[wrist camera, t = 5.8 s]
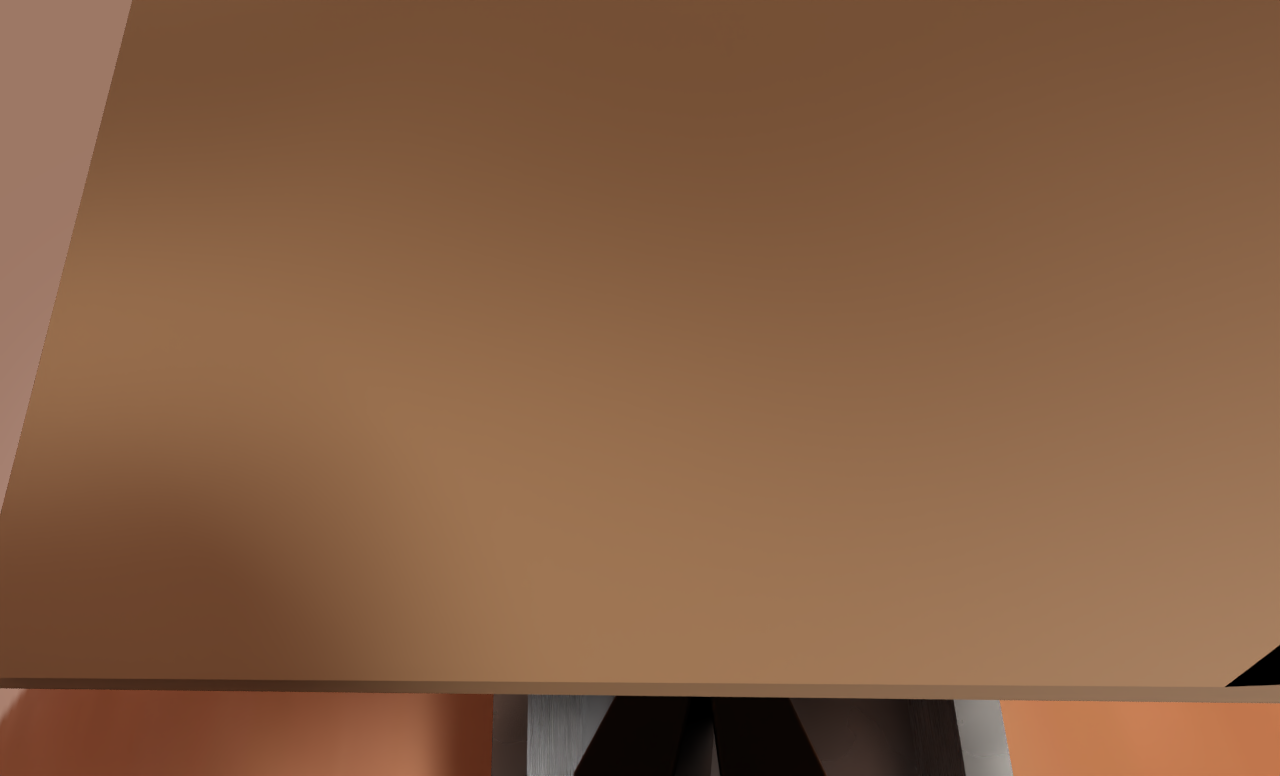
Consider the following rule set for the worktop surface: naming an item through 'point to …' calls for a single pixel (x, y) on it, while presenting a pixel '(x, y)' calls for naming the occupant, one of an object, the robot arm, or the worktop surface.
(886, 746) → the metal bay
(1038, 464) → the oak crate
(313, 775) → the worktop surface
